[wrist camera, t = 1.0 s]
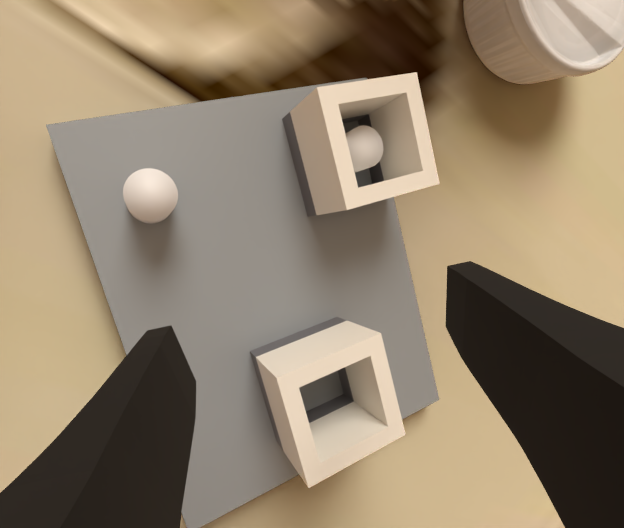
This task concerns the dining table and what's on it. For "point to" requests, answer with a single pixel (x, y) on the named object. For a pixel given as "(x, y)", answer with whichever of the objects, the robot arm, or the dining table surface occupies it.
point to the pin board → (237, 267)
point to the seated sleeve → (335, 152)
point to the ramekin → (544, 36)
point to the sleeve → (337, 412)
